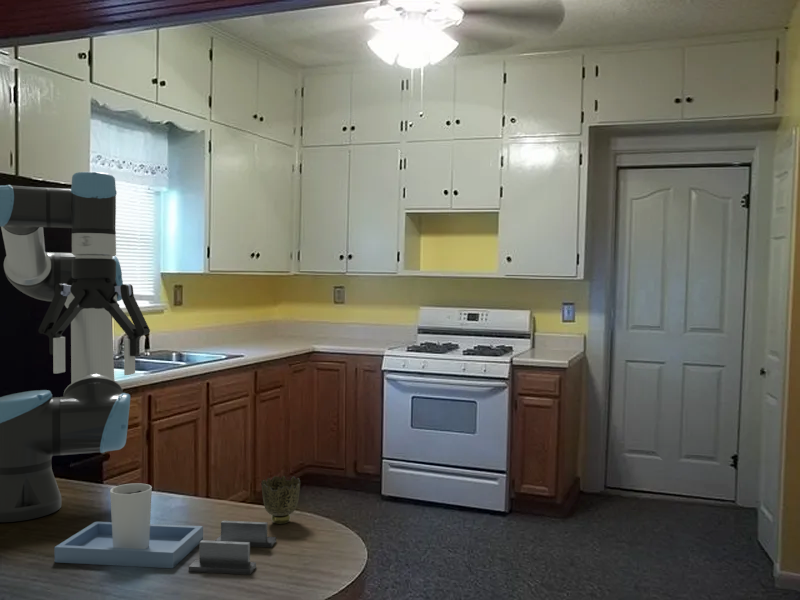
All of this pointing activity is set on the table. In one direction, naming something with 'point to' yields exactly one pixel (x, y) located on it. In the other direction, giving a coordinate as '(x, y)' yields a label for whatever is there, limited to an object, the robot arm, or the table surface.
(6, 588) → the table surface
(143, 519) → the white tumbler
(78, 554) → the tray
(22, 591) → the table surface
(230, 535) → the bracket
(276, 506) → the cup
